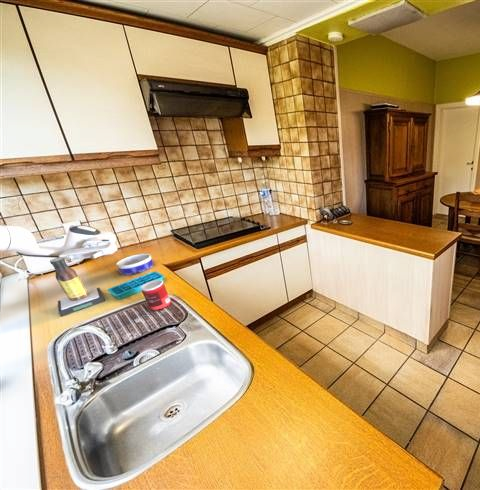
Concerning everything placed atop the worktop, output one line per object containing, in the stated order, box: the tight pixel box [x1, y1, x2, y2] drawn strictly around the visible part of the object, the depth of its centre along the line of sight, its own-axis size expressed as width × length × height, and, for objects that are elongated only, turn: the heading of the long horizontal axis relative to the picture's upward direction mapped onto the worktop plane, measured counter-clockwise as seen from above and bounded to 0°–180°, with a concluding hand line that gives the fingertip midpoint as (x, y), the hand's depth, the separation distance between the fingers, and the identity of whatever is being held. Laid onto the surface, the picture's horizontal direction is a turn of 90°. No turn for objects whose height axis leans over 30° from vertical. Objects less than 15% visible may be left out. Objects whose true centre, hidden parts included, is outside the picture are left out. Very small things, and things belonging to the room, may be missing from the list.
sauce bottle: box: [49, 257, 88, 301], centre depth 116 cm, size 6×6×20 cm
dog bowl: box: [115, 253, 155, 276], centre depth 150 cm, size 15×15×6 cm
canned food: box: [141, 280, 172, 312], centre depth 114 cm, size 8×8×11 cm
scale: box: [57, 287, 105, 317], centre depth 121 cm, size 14×13×3 cm
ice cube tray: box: [107, 270, 165, 300], centre depth 131 cm, size 12×20×3 cm, turn 147°
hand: (80, 259), depth 125 cm, fingers open, 8 cm apart
